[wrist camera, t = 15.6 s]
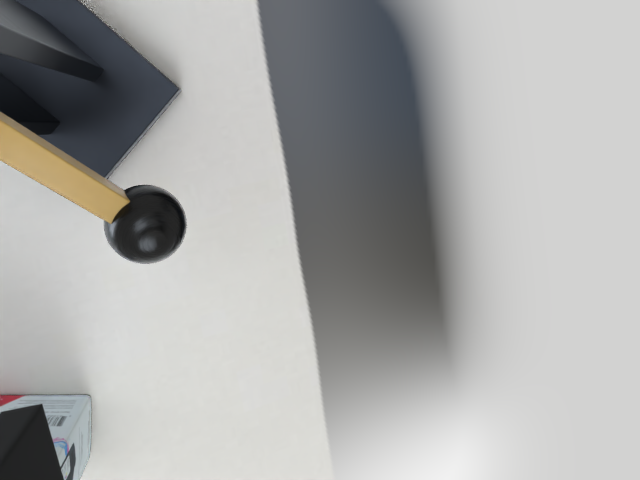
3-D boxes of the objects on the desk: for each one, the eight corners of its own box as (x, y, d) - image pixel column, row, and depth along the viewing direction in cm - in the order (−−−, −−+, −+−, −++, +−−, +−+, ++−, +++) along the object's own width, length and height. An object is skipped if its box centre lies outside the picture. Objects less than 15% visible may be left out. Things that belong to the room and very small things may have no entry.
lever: (188, 198, 23) (212, 231, 21) (142, 252, 23) (161, 290, 21) (-224, -88, 14) (-260, -83, 12) (-297, 5, 14) (-345, 28, 12)
